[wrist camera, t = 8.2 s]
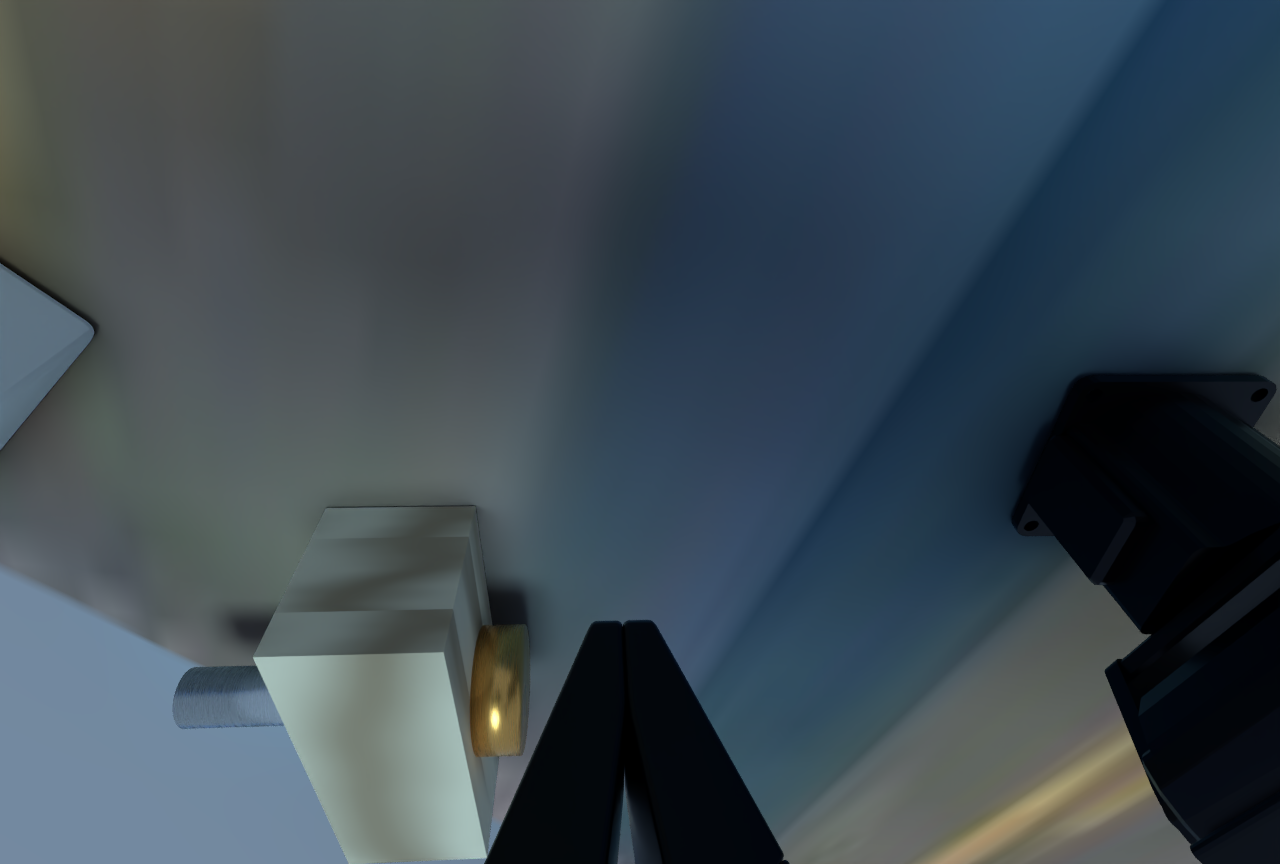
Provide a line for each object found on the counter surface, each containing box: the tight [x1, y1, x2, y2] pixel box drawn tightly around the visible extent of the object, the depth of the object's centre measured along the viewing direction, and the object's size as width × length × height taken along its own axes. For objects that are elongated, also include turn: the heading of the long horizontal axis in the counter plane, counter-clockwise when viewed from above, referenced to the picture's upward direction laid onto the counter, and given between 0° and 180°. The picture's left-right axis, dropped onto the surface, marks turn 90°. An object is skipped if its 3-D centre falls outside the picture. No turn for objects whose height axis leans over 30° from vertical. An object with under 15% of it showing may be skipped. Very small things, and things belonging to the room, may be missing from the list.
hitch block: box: [253, 506, 499, 864], centre depth 24 cm, size 5×12×6 cm, turn 178°
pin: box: [173, 624, 530, 757], centre depth 24 cm, size 12×4×4 cm, turn 88°
